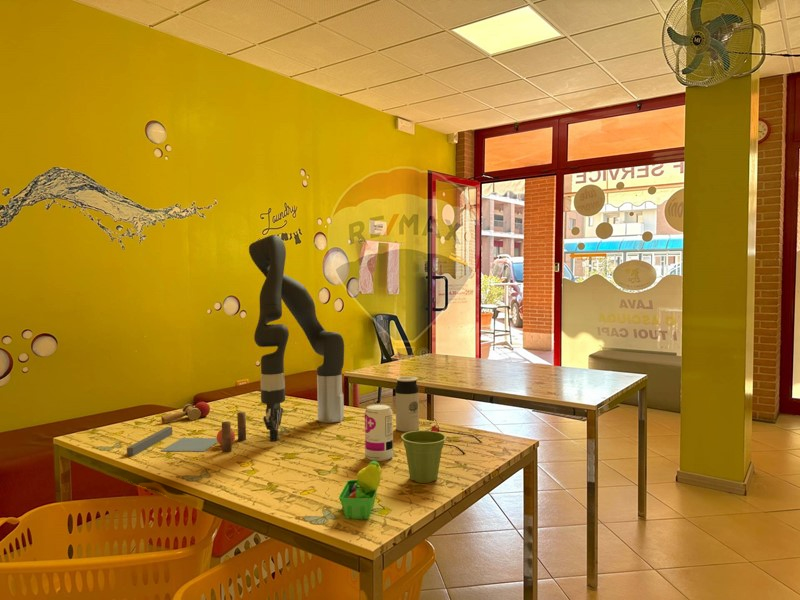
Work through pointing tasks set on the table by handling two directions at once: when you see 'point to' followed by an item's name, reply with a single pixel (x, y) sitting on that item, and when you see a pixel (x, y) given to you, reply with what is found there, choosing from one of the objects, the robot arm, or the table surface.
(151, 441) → the wall
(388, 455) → the supplement can
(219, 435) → the ball
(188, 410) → the kendama
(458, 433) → the glasses
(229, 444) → the gate post
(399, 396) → the travel mug
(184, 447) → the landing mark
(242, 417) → the gate post
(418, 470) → the plant pot
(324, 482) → the table surface
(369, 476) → the fruit basket
